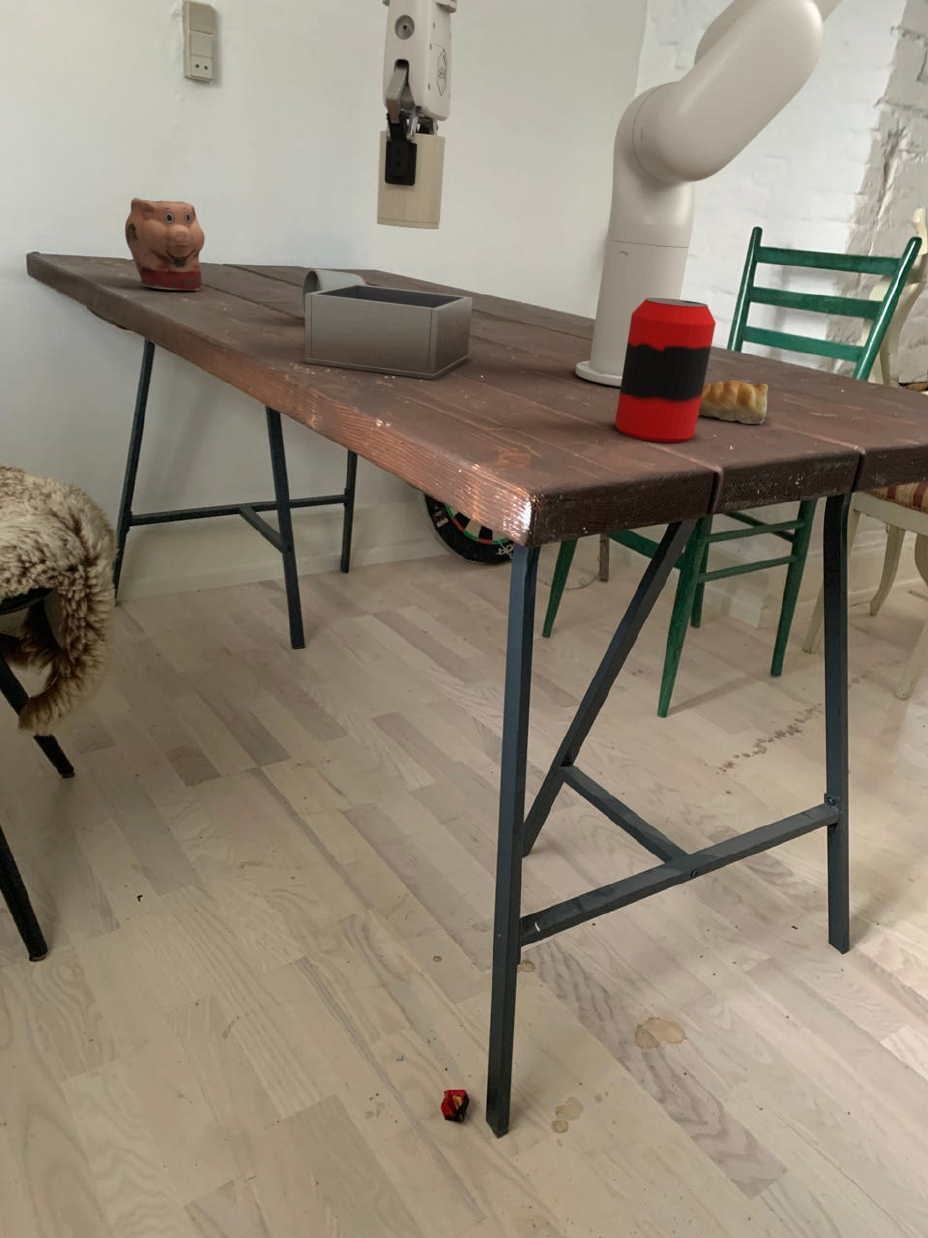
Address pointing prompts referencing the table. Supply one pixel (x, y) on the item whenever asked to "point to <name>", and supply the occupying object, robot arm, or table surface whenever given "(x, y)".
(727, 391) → the pastry
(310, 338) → the grey open box
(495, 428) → the table surface
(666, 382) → the soda can
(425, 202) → the cup
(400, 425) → the table surface
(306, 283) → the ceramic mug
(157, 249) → the decorative planter
